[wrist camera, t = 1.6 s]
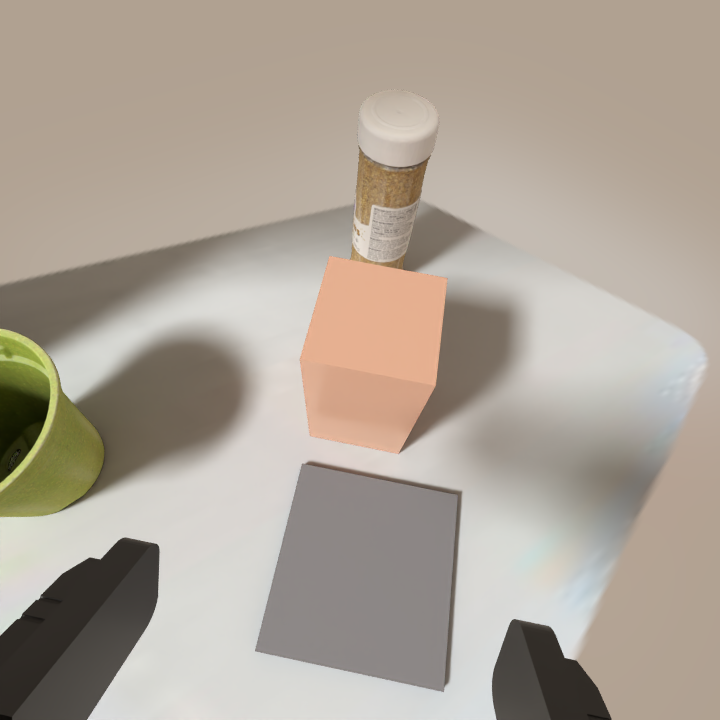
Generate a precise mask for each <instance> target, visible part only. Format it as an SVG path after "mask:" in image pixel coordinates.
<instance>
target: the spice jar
mask: <svg viewBox="0 0 720 720" xmlns="http://www.w3.org/2000/svg"><path fill="white" fill-rule="evenodd" d="M438 128H439V114H438V112H437V110H436V108H435V107H434V105H433V104H432V103H431V102H430V101H428V100H427V99H425V98H424V97H422V96H420V95H418V94H415V93H412V92H409V91H403V90H386V91H381V92H378V93H375V94H373V95H371V96H370V97H368V98H367V99H366V100H365V101H364V102H363V104H362V105H361V108H360V112H359V120H358V134H357V139H358V144H359V149H360V153H359V163H358V164H359V165H358V178H357V186H356V194H355V206H354V219H353V232H352V242H353V243H352V255H351V258H350V260H353V261H359V262H364V263H369V264H375V265H380V266H385V267H390V268H396V269H401V270H403V261H404V257H405V253H406V251H407V248H408V245H409V241H410V237H411V233H412V229H413V225H414V221H415V217H416V213H417V209H418V204H419V200H420V196H421V187H422V182H423V179H424V174H425V170H426V166H427V163H428V160H429V158H430V156H431V153H432V152H433V149H434V146H435V142H436V138H437V133H438Z"/></svg>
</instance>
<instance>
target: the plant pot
mask: <svg viewBox="0 0 720 720" xmlns="http://www.w3.org/2000/svg"><path fill="white" fill-rule="evenodd" d="M18 449H20V450H21V452H20V454H19V455H18V457H17V459H16V460H15V462H14V465H13V466H12V467H11V470H10V471H9V470H8V464H9V461H10V459H11V457H12V455H13V454H14V452H16V451H17V450H18ZM103 461H104V445H103V442H102V439H101V437H100V435H99V433H98V431H97V430H96V429H95V427H94V426H93V425H92V424H91V423H90V422H89V421H88V420H87V419H86V417H85V416H84V415H83V414H82V413H81V412H80V411H79V410H78V409H77V407H76V406H75V405H74V404H73V403H72V402H71V401H70V399H69V398H68V397H67V396H66V395H65V394H64V393H63V391H62V388H61V383H60V378H59V374H58V371H57V369H56V366H55V364H54V362H53V361H52V359H51V358H50V356H49V355H48V354H47V353H46V352H45V351H44V350H43V349H42V348H41V347H40V346H39V345H38V344H37V343H35V342H34V341H32V340H31V339H29V338H28V337H25V336H23V335H21V334H19V333H16V332H13V331H9V330H5V329H0V517H34V516H44V515H49V514H53V513H56V512H58V511H60V510H61V509H63V508H65V507H66V506H68V505H69V504H71V503H72V502H74V501H75V500H77V499H79V498H80V497H82V496H83V495H84V494H85V493H86V492H87V491H88V490H89V489H90V488H91V487H92V485H93V484H94V482H95V481H96V479H97V478H98V476H99V474H100V471H101V469H102V465H103Z"/></svg>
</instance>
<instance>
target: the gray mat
mask: <svg viewBox="0 0 720 720" xmlns="http://www.w3.org/2000/svg"><path fill="white" fill-rule="evenodd" d="M457 500H458V495H455V494H450V493H445V492H440V491H435V490H430V489H425V488H420V487H415V486H411V485H406V484H401V483H396V482H391V481H386V480H381V479H376V478H371V477H366V476H361V475H356V474H351V473H346V472H341V471H336V470H331V469H327V468H322V467H317V466H312V465H307V464H302V466H301V470H300V474H299V478H298V482H297V486H296V490H295V494H294V498H293V502H292V506H291V510H290V514H289V518H288V522H287V526H286V530H285V534H284V538H283V542H282V546H281V550H280V554H279V558H278V562H277V566H276V570H275V574H274V578H273V582H272V586H271V590H270V594H269V598H268V602H267V606H266V610H265V614H264V618H263V621H262V625H261V629H260V633H259V637H258V641H257V645H256V649H255V651H257V652H261V653H266V654H270V655H275V656H280V657H284V658H289V659H294V660H298V661H303V662H308V663H312V664H317V665H321V666H326V667H331V668H335V669H340V670H345V671H349V672H354V673H359V674H363V675H368V676H372V677H377V678H382V679H386V680H391V681H396V682H400V683H405V684H410V685H414V686H419V687H423V688H428V689H433V690H437V691H442V692H444V683H445V669H446V655H447V641H448V627H449V613H450V599H451V585H452V571H453V557H454V543H455V529H456V514H457Z"/></svg>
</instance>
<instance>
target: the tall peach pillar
mask: <svg viewBox="0 0 720 720" xmlns="http://www.w3.org/2000/svg"><path fill="white" fill-rule="evenodd" d="M446 287H447V278H444V277H438V276H433V275H428V274H422V273H417V272H412V271H406V270H401V269H396V268H390V267H385V266H380V265H375V264H369V263H364V262H359V261H353V260H348V259H343V258H337V257H332V256H329V260H328V263H327V267H326V270H325V274H324V277H323V281H322V284H321V288H320V291H319V294H318V298H317V301H316V305H315V308H314V312H313V315H312V319H311V322H310V326H309V329H308V333H307V336H306V340H305V343H304V347H303V350H302V354H301V357H300V364H301V372H302V379H303V387H304V395H305V402H306V410H307V417H308V425H309V433H310V436H312V437H317V438H322V439H327V440H332V441H337V442H342V443H347V444H352V445H357V446H362V447H367V448H372V449H377V450H382V451H387V452H392V453H397V454H399V452H400V450H401V448H402V446H403V445H404V443H405V441H406V439H407V437H408V435H409V434H410V432H411V430H412V428H413V426H414V424H415V423H416V421H417V419H418V417H419V415H420V414H421V412H422V410H423V408H424V406H425V404H426V403H427V401H428V399H429V397H430V395H431V394H432V392H433V390H434V388H435V386H436V379H437V370H438V360H439V351H440V342H441V333H442V324H443V314H444V305H445V296H446Z"/></svg>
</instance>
